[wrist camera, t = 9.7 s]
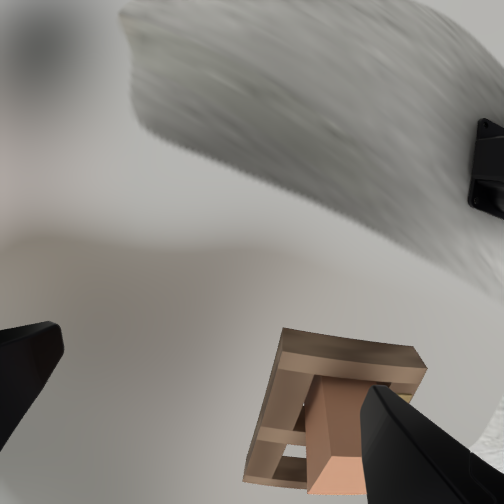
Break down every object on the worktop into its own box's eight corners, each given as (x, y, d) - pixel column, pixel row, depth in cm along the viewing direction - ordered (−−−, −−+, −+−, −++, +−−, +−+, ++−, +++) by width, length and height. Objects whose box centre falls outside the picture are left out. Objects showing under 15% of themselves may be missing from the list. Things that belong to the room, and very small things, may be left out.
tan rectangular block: (369, 364, 20) (402, 455, 11) (351, 404, 21) (371, 493, 12) (318, 358, 20) (331, 456, 12) (303, 399, 21) (307, 493, 13)
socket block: (415, 346, 19) (430, 370, 16) (348, 467, 23) (351, 491, 20) (282, 327, 20) (282, 353, 17) (246, 458, 24) (242, 483, 21)
